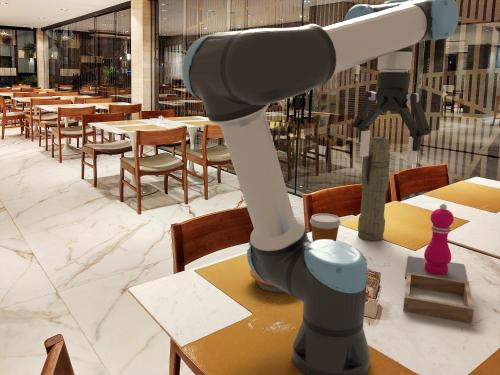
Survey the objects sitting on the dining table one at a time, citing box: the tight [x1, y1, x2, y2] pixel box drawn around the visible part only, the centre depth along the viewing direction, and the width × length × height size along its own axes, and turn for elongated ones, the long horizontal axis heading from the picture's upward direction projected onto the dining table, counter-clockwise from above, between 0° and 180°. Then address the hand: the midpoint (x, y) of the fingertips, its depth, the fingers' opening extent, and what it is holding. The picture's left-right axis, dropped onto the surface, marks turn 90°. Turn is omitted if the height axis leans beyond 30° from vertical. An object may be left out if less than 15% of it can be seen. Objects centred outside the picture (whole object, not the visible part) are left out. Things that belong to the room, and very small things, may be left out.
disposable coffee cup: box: [309, 213, 342, 242], centre depth 140 cm, size 10×10×12 cm
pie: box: [249, 268, 286, 294], centre depth 121 cm, size 15×16×5 cm
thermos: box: [357, 136, 391, 243], centre depth 152 cm, size 9×12×35 cm
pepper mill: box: [423, 203, 455, 275], centre depth 127 cm, size 7×7×20 cm
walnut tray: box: [402, 272, 475, 324], centre depth 112 cm, size 15×15×4 cm
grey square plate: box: [404, 255, 468, 282], centre depth 129 cm, size 16×16×1 cm
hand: (386, 160), depth 111 cm, fingers open, 13 cm apart
